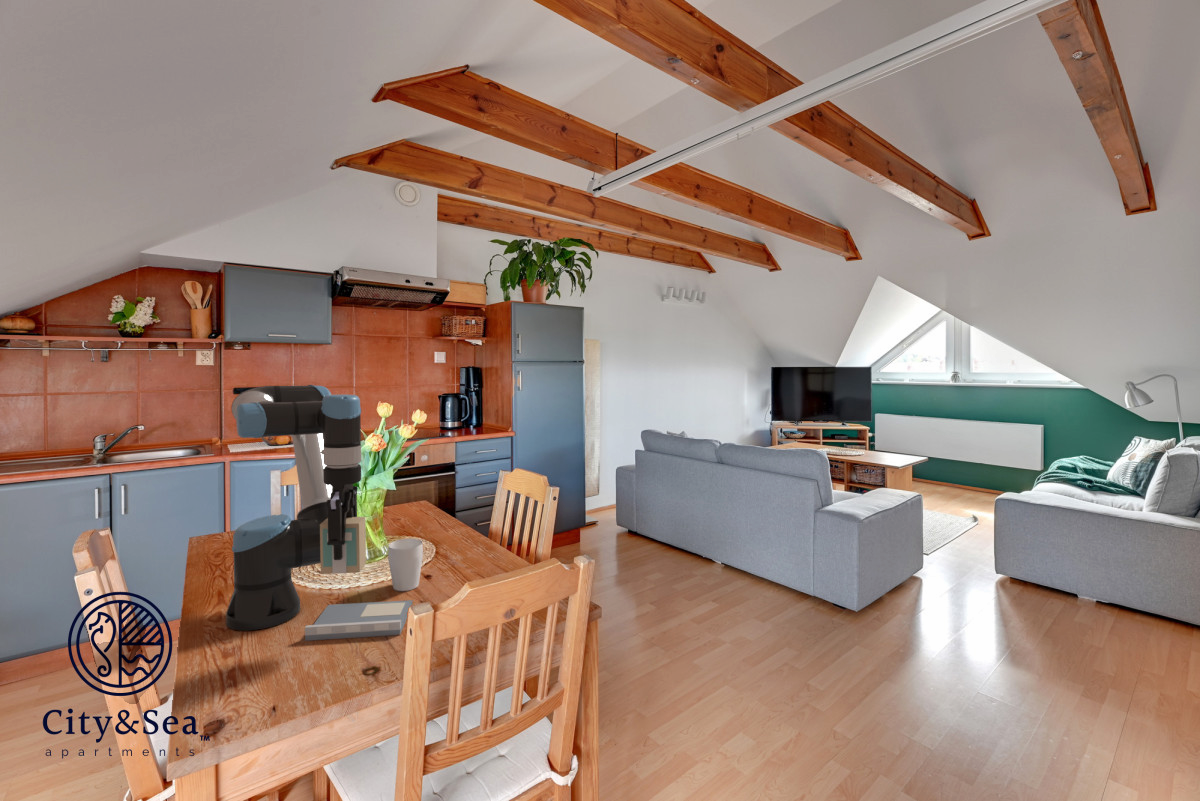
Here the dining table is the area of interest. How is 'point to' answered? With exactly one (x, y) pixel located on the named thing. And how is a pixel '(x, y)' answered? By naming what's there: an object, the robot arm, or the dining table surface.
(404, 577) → the cup
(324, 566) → the tea box
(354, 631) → the grey flat rectangular block
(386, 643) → the dining table surface
